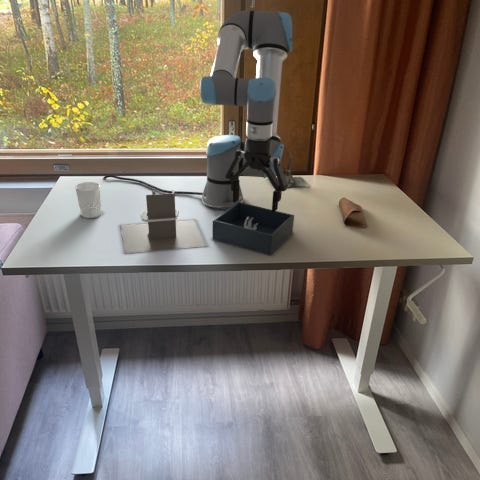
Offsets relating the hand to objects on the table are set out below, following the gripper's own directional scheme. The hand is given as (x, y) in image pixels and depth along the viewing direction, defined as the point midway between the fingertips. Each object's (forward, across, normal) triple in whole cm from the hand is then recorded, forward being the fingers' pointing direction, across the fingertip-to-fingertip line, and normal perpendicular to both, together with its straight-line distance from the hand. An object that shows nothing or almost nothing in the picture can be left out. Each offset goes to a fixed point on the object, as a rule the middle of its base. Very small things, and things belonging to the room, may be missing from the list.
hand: (254, 205), depth 159 cm
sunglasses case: (+11, +24, +32) cm, 42 cm away
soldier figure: (+10, -1, 0) cm, 10 cm away
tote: (+10, 0, -1) cm, 11 cm away
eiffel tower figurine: (+12, -9, +50) cm, 53 cm away
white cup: (+11, -55, -15) cm, 58 cm away
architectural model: (+11, -25, -16) cm, 32 cm away
